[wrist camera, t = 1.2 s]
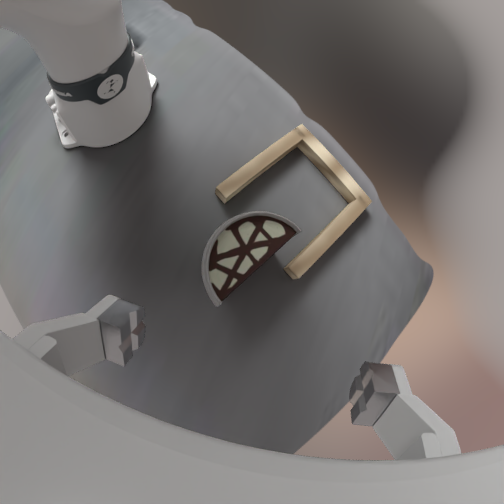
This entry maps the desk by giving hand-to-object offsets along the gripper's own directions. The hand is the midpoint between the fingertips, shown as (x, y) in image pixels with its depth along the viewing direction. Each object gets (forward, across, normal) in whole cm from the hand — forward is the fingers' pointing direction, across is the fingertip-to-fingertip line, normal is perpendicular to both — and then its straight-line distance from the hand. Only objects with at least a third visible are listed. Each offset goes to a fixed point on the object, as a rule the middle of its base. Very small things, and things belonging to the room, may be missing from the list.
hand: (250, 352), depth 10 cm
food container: (+28, +6, +8) cm, 29 cm away
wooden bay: (+34, -1, 0) cm, 34 cm away
